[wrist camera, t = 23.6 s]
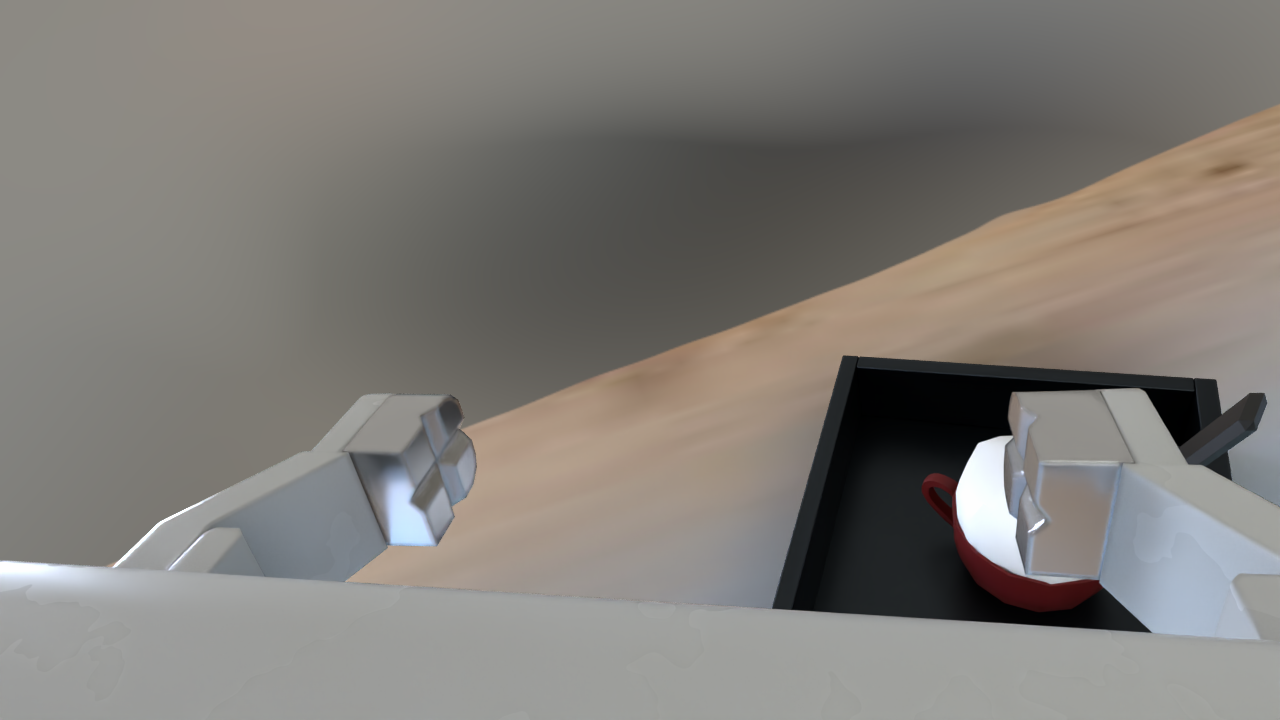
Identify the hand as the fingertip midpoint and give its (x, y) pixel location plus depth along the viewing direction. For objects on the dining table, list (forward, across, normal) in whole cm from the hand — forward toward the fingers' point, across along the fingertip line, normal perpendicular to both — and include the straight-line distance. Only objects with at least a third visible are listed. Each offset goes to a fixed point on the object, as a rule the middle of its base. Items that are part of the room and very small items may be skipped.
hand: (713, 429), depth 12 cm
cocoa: (+17, -9, +20) cm, 27 cm away
